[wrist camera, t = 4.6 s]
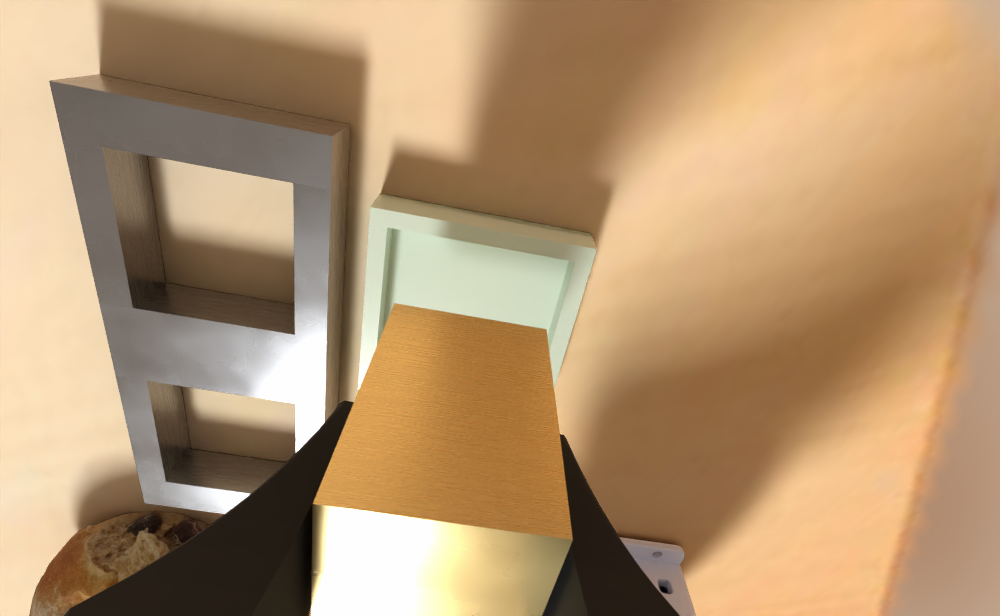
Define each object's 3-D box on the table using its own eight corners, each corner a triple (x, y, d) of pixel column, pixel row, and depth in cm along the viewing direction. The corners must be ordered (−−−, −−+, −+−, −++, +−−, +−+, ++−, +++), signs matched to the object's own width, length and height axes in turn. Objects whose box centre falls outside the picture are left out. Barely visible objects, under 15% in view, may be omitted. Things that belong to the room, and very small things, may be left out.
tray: (590, 233, 19) (596, 249, 17) (542, 395, 22) (544, 418, 21) (380, 193, 18) (370, 206, 17) (367, 367, 22) (357, 389, 20)
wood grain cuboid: (546, 329, 15) (572, 539, 9) (515, 440, 17) (519, 670, 11) (394, 302, 15) (313, 503, 9) (382, 420, 17) (310, 646, 11)
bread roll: (107, 490, 31) (-23, 633, 26) (136, 475, 24) (-33, 667, 19) (244, 566, 35) (153, 706, 30) (304, 572, 28) (199, 756, 23)
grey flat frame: (350, 124, 17) (332, 136, 15) (334, 492, 26) (321, 527, 24) (98, 74, 16) (49, 81, 14) (170, 469, 25) (144, 503, 23)
